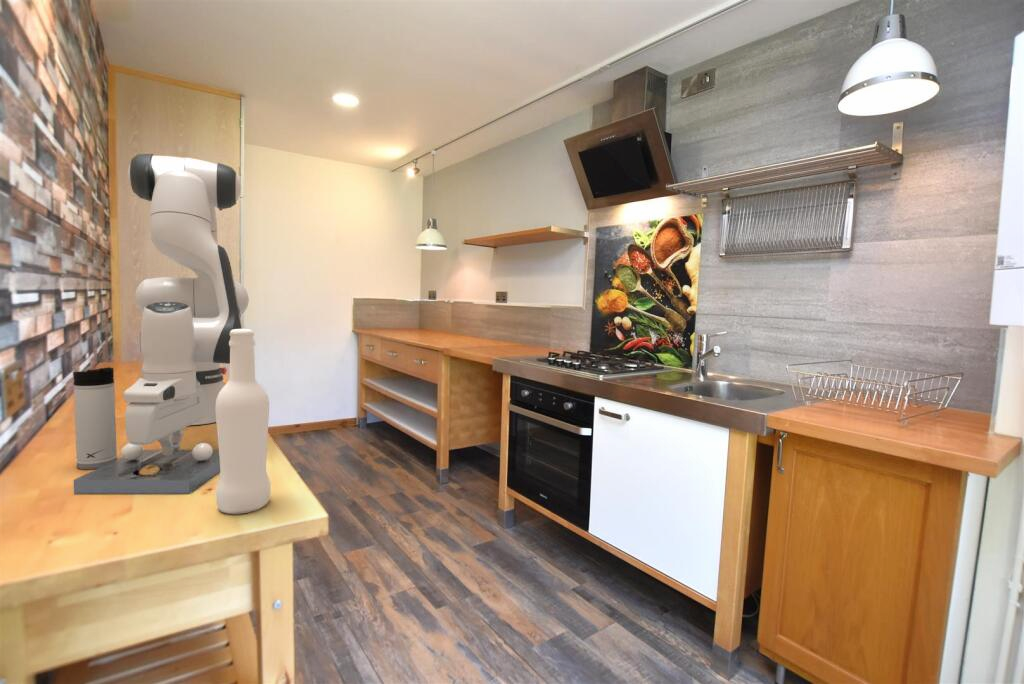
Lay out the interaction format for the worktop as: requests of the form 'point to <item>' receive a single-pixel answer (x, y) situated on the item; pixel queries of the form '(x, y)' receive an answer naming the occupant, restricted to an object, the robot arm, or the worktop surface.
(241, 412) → the bottle
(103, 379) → the travel mug
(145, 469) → the brass ball
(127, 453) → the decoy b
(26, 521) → the worktop surface
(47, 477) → the worktop surface
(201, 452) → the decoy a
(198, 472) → the plate
